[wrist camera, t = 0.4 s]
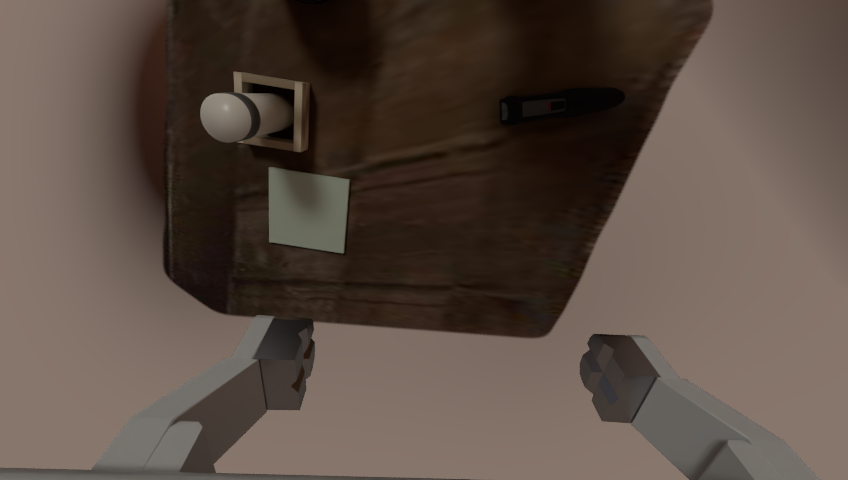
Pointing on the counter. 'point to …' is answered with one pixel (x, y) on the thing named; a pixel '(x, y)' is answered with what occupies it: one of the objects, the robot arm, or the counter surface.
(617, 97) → the electric trimmer
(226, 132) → the white capsule post
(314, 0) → the supplement container
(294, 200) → the mat
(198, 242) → the counter surface
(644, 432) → the robot arm
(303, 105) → the square wooden frame
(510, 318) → the counter surface
